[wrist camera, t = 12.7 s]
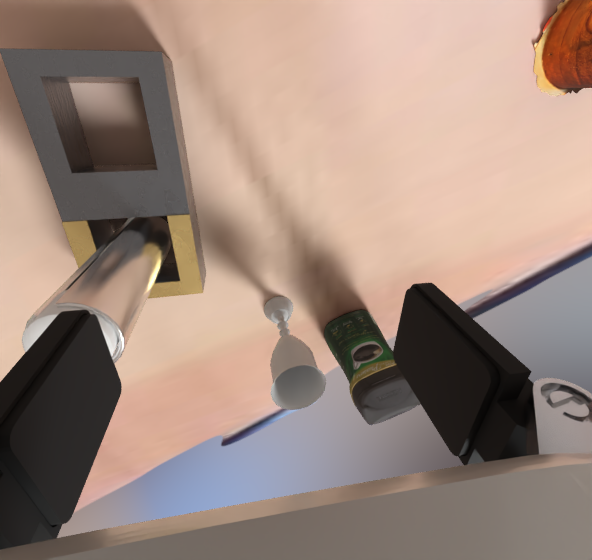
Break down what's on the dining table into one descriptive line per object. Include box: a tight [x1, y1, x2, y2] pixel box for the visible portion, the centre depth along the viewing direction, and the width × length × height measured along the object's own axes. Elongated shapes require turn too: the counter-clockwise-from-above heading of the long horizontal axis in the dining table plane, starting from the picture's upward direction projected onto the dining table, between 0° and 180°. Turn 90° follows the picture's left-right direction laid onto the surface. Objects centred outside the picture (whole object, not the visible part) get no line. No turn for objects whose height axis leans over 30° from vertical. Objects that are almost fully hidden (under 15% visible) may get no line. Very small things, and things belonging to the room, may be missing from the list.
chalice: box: [264, 296, 326, 410], centre depth 46 cm, size 7×7×18 cm
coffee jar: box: [324, 310, 421, 425], centre depth 50 cm, size 10×8×19 cm
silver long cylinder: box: [22, 216, 172, 363], centre depth 33 cm, size 6×6×25 cm
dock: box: [0, 49, 206, 298], centre depth 38 cm, size 27×14×6 cm, turn 1°
